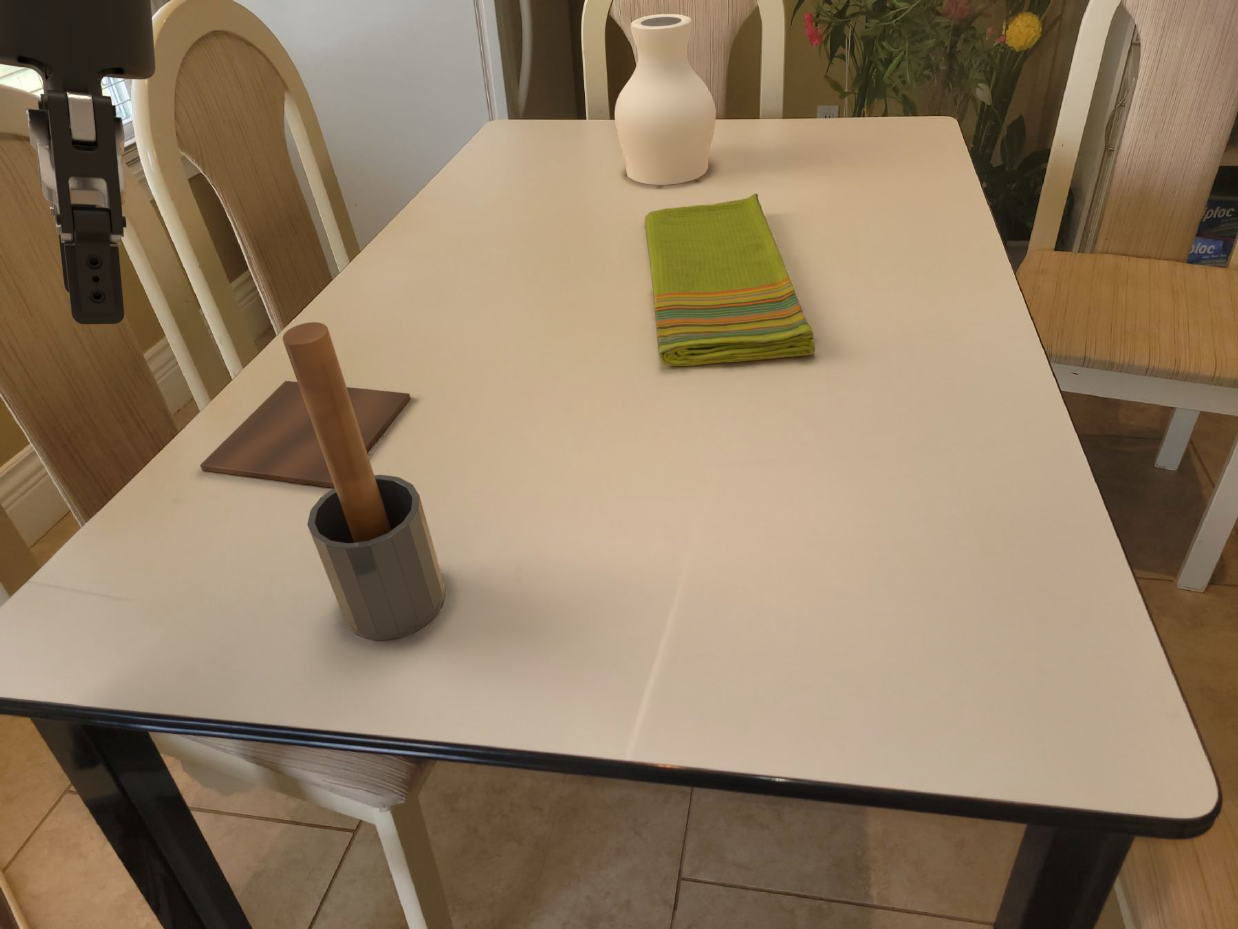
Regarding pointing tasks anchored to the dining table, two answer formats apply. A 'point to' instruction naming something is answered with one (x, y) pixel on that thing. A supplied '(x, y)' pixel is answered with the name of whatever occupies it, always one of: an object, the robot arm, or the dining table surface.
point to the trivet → (297, 436)
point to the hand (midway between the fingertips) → (93, 307)
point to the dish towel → (722, 286)
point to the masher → (336, 428)
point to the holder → (381, 564)
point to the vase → (664, 106)
